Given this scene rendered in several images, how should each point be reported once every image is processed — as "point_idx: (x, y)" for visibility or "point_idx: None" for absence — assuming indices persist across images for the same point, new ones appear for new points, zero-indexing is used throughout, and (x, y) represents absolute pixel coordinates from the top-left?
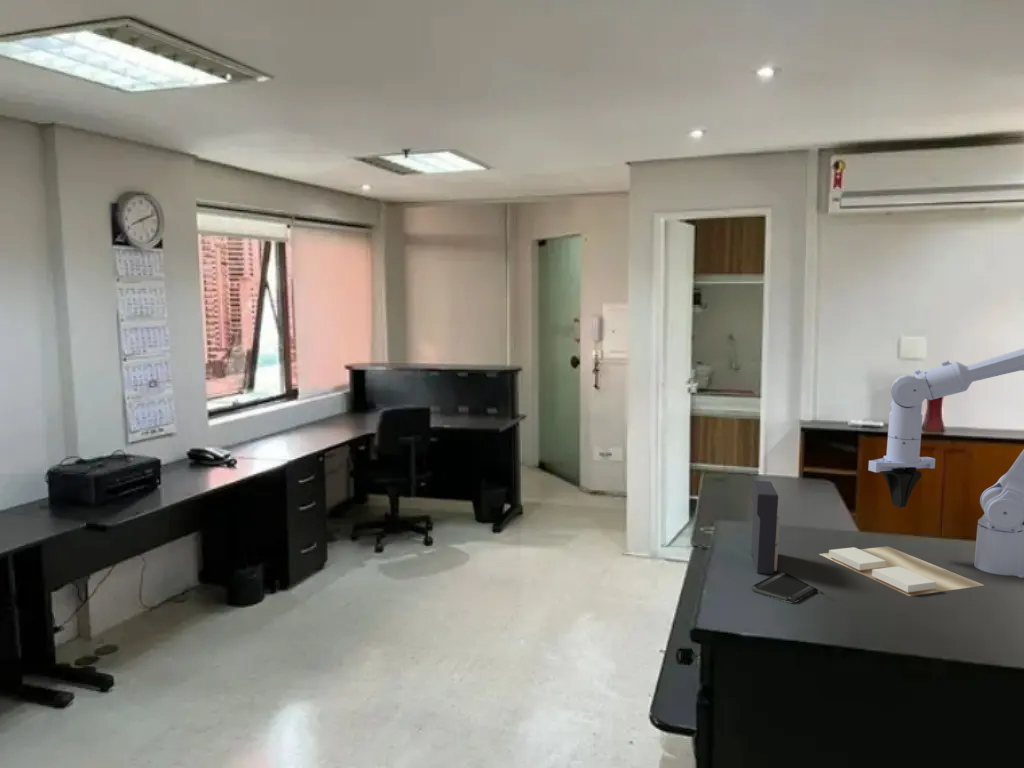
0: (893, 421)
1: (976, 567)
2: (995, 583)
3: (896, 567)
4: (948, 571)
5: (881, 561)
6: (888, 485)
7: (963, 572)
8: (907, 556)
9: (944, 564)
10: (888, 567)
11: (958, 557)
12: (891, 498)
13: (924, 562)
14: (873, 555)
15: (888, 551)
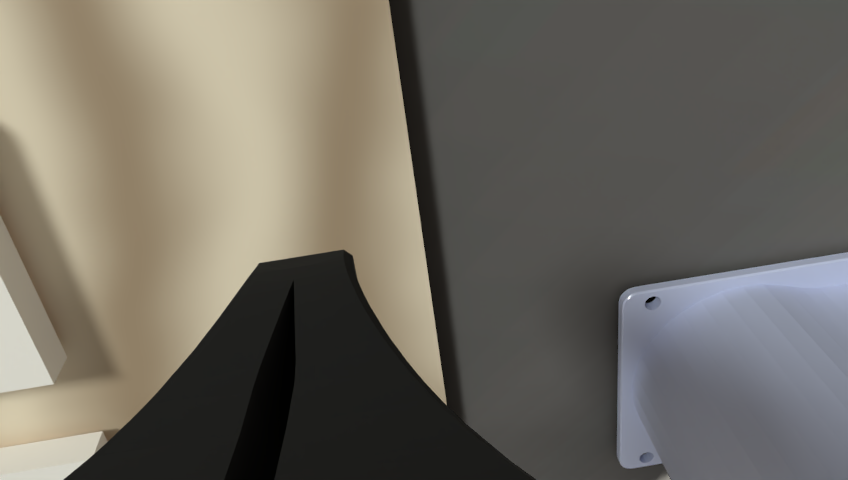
0: None
1: (642, 360)
2: (582, 467)
3: (64, 475)
4: None
5: (16, 389)
6: (117, 445)
7: (558, 347)
8: (372, 162)
9: (561, 234)
10: (11, 474)
11: (766, 131)
12: (231, 302)
13: (404, 272)
14: (10, 294)
15: (297, 45)
